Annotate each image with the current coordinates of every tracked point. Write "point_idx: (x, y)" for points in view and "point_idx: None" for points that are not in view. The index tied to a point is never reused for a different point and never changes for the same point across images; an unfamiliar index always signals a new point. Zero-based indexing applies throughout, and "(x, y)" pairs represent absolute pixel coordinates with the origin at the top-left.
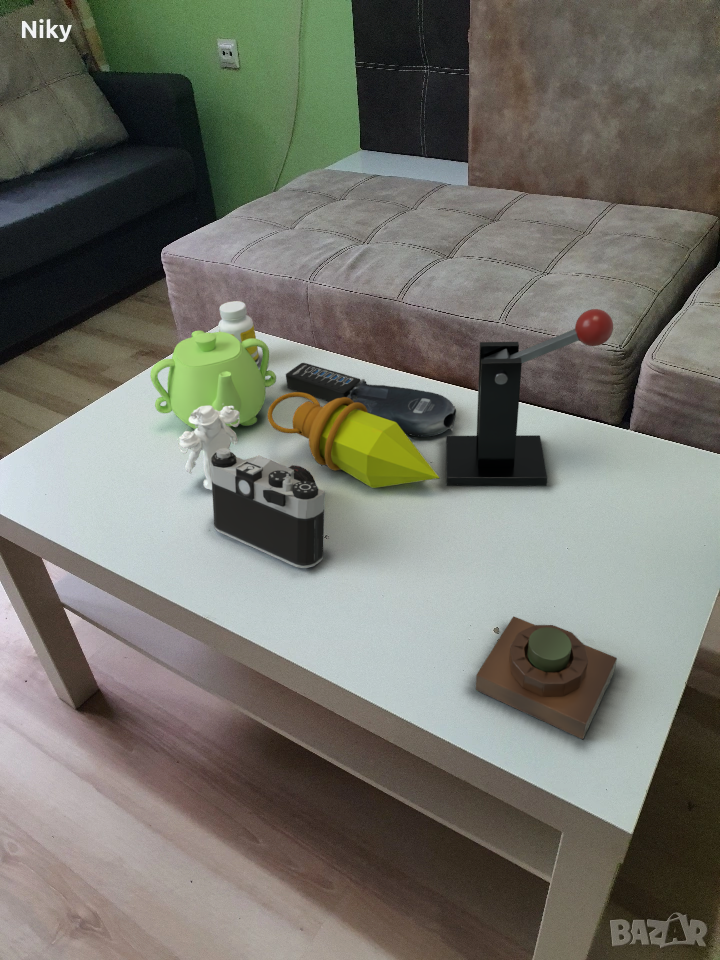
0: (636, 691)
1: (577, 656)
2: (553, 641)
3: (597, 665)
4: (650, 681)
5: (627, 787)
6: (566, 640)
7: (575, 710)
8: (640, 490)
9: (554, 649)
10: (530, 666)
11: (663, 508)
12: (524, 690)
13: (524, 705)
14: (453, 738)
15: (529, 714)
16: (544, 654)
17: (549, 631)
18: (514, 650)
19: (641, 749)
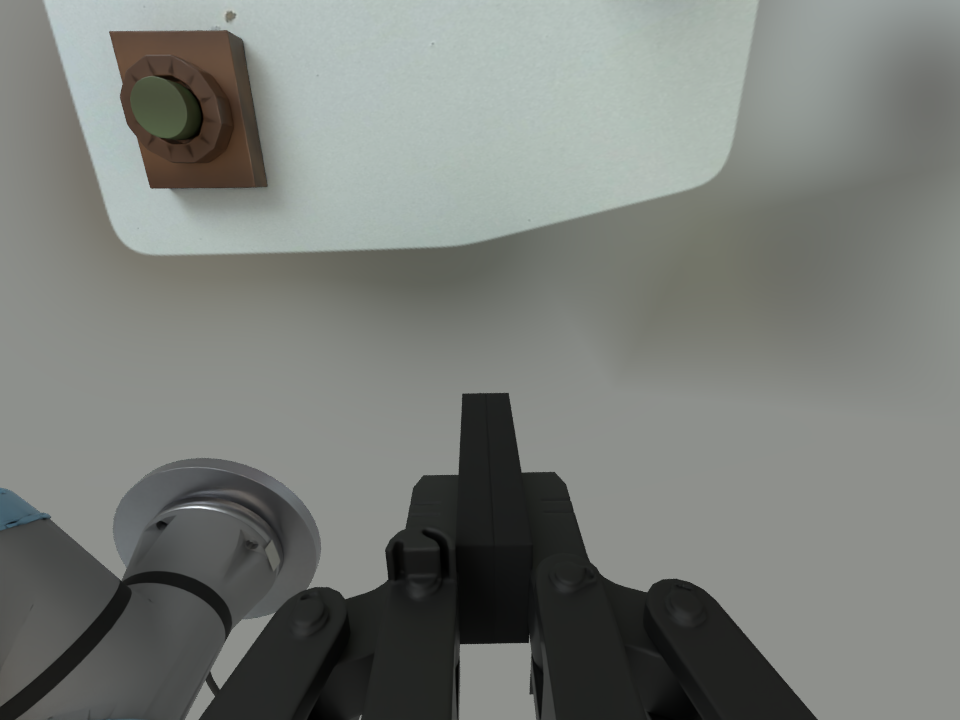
0: (262, 217)
1: (192, 147)
2: (164, 111)
3: (230, 170)
4: (284, 226)
5: (155, 245)
6: (178, 126)
7: (157, 171)
8: (612, 101)
9: (154, 118)
10: None
11: (583, 148)
12: None
13: None
14: (59, 49)
15: None
16: (136, 109)
17: (175, 98)
18: (141, 64)
19: (201, 243)
